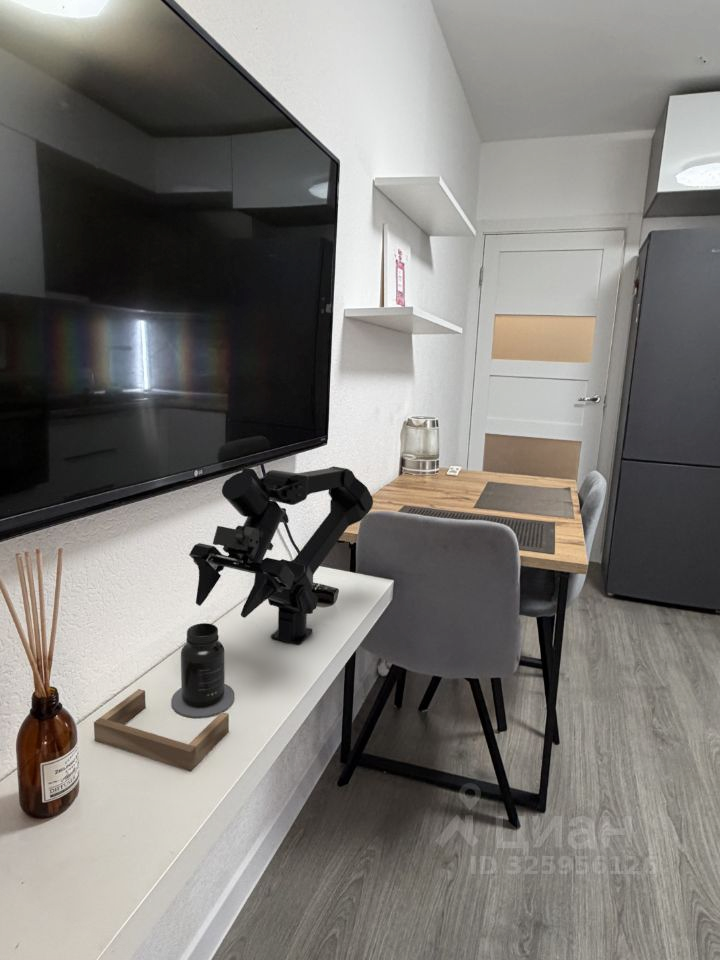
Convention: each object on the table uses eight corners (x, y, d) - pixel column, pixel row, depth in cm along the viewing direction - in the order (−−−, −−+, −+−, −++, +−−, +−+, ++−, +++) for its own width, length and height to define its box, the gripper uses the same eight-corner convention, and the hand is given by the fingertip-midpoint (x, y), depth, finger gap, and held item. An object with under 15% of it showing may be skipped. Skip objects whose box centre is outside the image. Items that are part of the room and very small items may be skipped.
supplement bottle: (174, 694, 98) (173, 626, 95) (213, 681, 102) (212, 616, 100) (192, 714, 93) (191, 643, 90) (232, 699, 97) (232, 631, 94)
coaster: (195, 678, 104) (195, 675, 104) (246, 691, 100) (246, 688, 100) (158, 709, 94) (158, 706, 94) (212, 724, 91) (212, 721, 91)
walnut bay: (139, 705, 95) (138, 688, 94) (228, 731, 90) (228, 713, 89) (94, 740, 86) (93, 722, 86) (190, 771, 81) (190, 751, 80)
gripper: (195, 498, 104) (151, 578, 97) (286, 515, 97) (246, 602, 89) (223, 531, 113) (184, 606, 106) (309, 548, 106) (274, 630, 98)
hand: (219, 610), depth 99 cm, fingers open, 9 cm apart
